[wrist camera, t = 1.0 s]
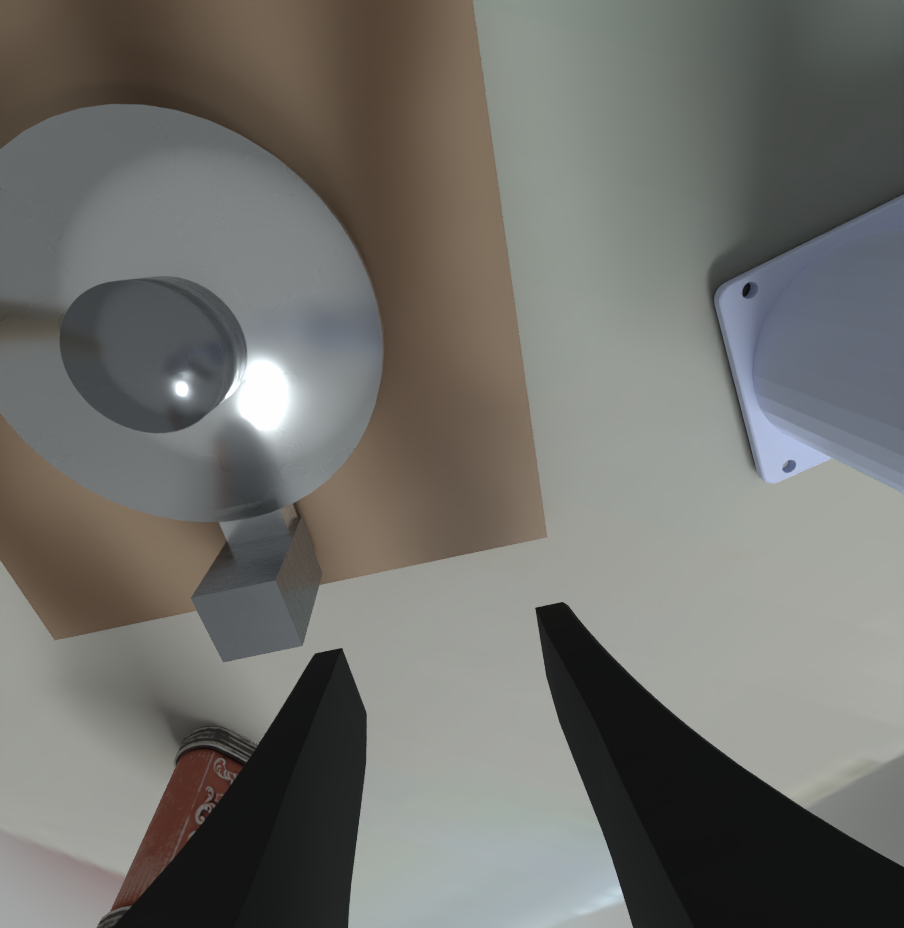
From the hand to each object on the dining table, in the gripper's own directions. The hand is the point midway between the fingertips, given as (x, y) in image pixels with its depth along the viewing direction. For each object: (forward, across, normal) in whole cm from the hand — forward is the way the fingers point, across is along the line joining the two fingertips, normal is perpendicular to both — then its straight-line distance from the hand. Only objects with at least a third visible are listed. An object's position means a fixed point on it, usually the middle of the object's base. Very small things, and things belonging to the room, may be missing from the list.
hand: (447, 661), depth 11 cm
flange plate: (+7, +6, -6) cm, 11 cm away
